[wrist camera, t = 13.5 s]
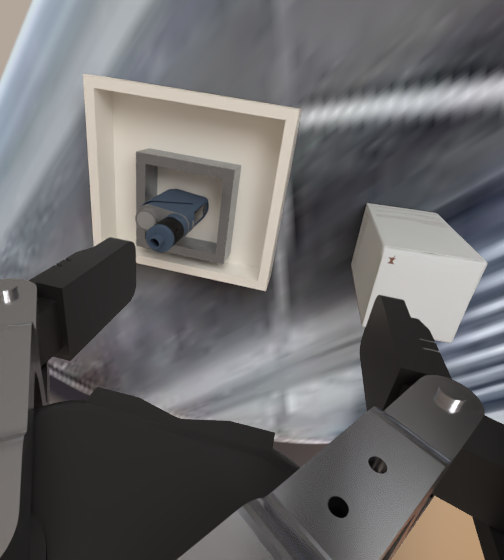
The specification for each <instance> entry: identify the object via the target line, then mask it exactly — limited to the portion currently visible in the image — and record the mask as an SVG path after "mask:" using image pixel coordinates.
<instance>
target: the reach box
mask: <svg viewBox="0 0 504 560" xmlns="http://www.w3.org/2000/svg"><path fill="white" fill-rule="evenodd" d="M83 82H84V98H85V114H86V130H87V146H88V162H89V178H90V194H91V210H92V226H93V242H94V246H96V245H98V244H99V243H101V242H102V241H104V240H106V239H107V238H109V237H113V238H118V239H122V240H127V241H132V242H133V243H134V244H135V247H136V263H139V264H144V265H148V266H153V267H157V268H162V269H166V270H171V271H176V272H180V273H185V274H189V275H194V276H199V277H203V278H208V279H212V280H217V281H221V282H226V283H231V284H235V285H240V286H244V287H249V288H253V289H258V290H263V291H266V289H267V286H268V283H269V280H270V277H271V272H272V267H273V261H274V256H275V251H276V245H277V240H278V235H279V229H280V224H281V219H282V214H283V208H284V203H285V198H286V192H287V187H288V182H289V176H290V171H291V166H292V160H293V155H294V150H295V144H296V139H297V134H298V128H299V123H300V118H301V112H302V109H300V108H294V107H288V106H281V105H275V104H269V103H263V102H257V101H251V100H245V99H239V98H233V97H227V96H221V95H215V94H209V93H203V92H197V91H190V90H184V89H178V88H172V87H166V86H160V85H154V84H148V83H142V82H136V81H130V80H124V79H118V78H112V77H105V76H97V75H89V74H83ZM148 148H151V149H156V150H161V151H167V152H172V153H178V154H183V155H189V156H194V157H200V158H205V159H210V160H216V161H221V162H227V163H232V164H238V165H241V173H240V181H239V189H238V196H237V204H236V212H235V220H234V228H233V236H232V244H231V252H230V255H229V257H228V258H227V260H226V261H225V263H224V264H219V263H215V262H210V261H205V260H201V259H196V258H191V257H187V256H182V255H177V254H173V253H168V252H163V253H159V252H156V251H154V250H152V249H149V248H145V247H140V246H136V221H135V216H136V151H140V150H144V149H148ZM222 188H223V178H218V177H212V176H207V175H202V174H196V173H191V172H186V171H180V170H175V169H170V168H165V167H159V166H158V182H157V195H159V194H161V193H163V192H165V191H166V190H169V189H180V190H183V191H186V192H190V193H193V194H196V195H200V196H203V197H206V198H207V199H208V203H209V209H208V212H207V214H206V215H205V217H204V218H203V219H202V220H201V221H200V222H199V223H198V224H197V225H196V226H195V227H194V228H193V229H192V230H191V231H190V232H189V233H188V234H187V235H186V236H185V237H190V238H194V239H199V240H204V241H209V242H214V243H217V236H218V226H219V217H220V207H221V198H222Z"/></svg>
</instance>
